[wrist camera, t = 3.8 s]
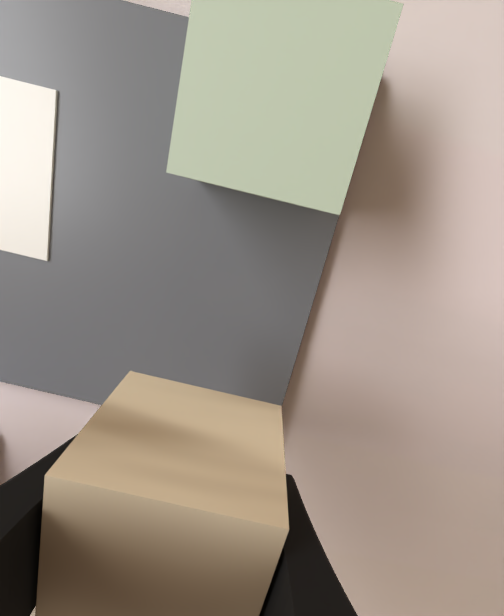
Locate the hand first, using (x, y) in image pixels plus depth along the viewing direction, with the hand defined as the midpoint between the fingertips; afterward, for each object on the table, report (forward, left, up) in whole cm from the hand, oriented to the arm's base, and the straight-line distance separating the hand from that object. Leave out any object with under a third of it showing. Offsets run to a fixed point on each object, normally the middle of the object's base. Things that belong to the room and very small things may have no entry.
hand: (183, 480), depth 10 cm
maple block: (0, 0, -1) cm, 1 cm away
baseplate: (+5, +5, -6) cm, 10 cm away
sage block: (+10, 0, -6) cm, 12 cm away
